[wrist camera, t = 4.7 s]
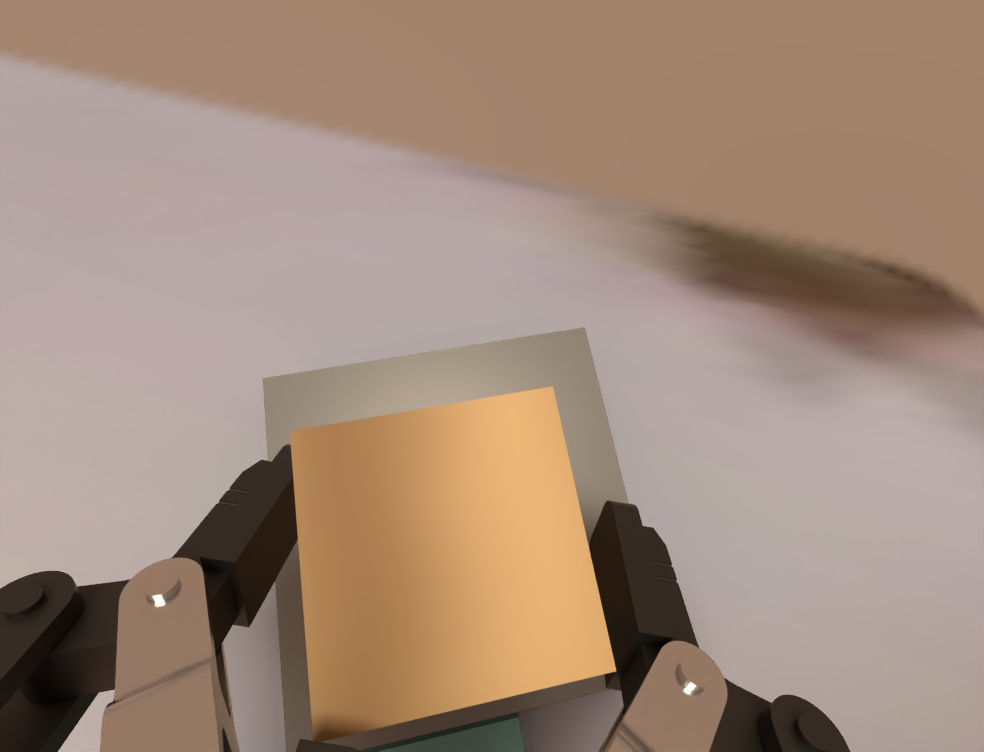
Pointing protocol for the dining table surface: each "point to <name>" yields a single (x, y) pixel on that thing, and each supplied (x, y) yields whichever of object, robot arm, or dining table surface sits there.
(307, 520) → the oak block
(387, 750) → the teal mat
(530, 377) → the frame
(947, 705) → the dining table surface
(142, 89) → the dining table surface
